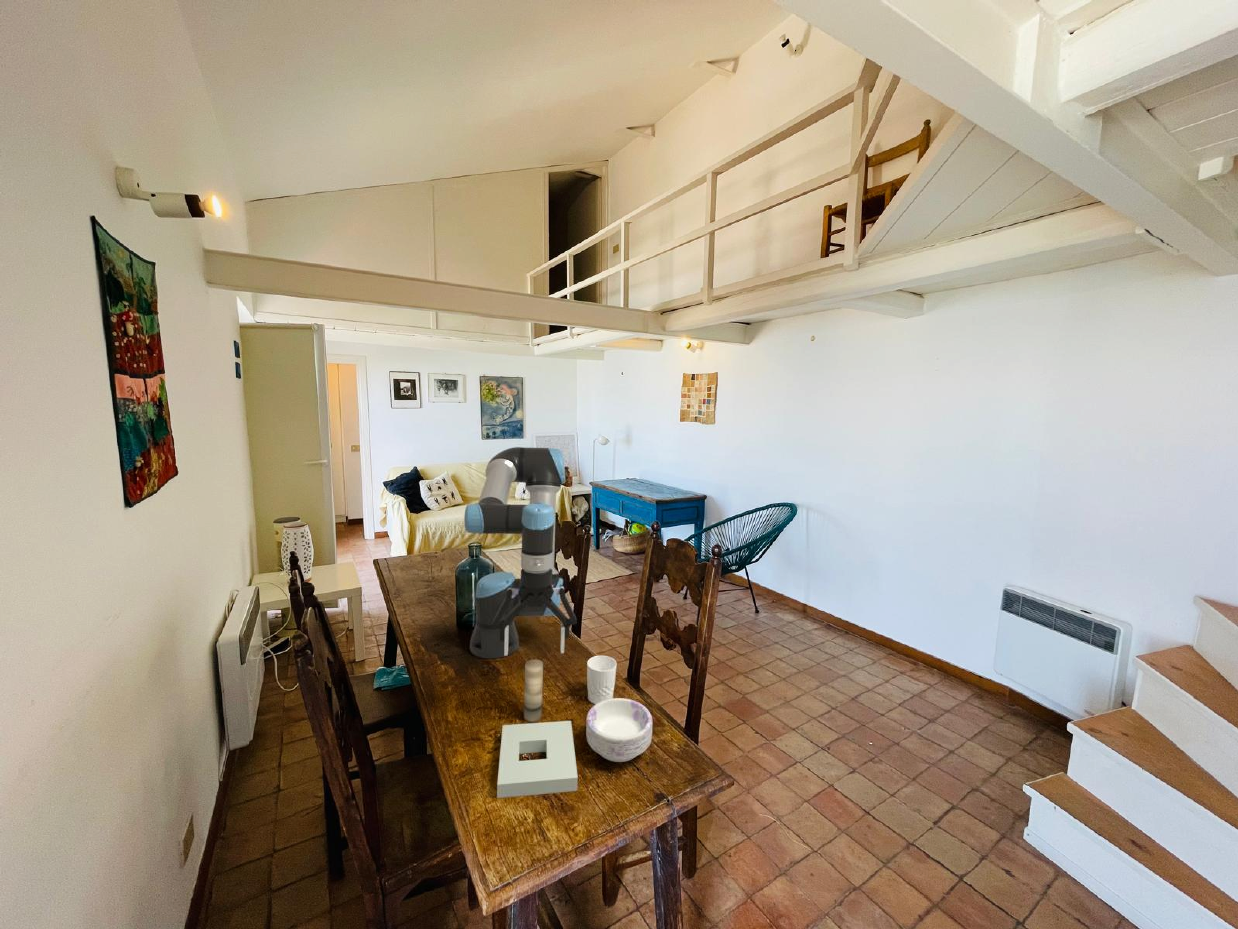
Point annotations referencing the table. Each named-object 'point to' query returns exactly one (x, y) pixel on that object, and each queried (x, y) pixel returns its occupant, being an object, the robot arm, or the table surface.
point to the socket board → (542, 773)
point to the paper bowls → (619, 729)
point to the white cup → (600, 678)
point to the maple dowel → (533, 690)
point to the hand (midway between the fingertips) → (534, 651)
